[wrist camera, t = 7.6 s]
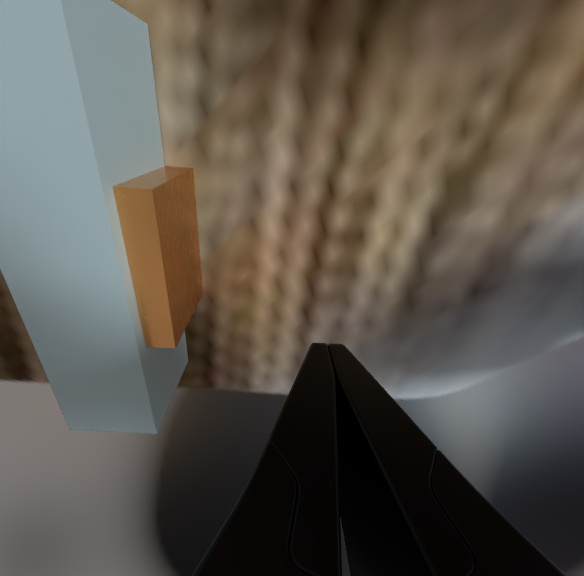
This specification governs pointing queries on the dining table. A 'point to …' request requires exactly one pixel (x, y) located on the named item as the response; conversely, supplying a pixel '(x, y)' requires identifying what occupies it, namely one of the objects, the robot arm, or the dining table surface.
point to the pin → (162, 250)
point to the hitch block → (80, 205)
